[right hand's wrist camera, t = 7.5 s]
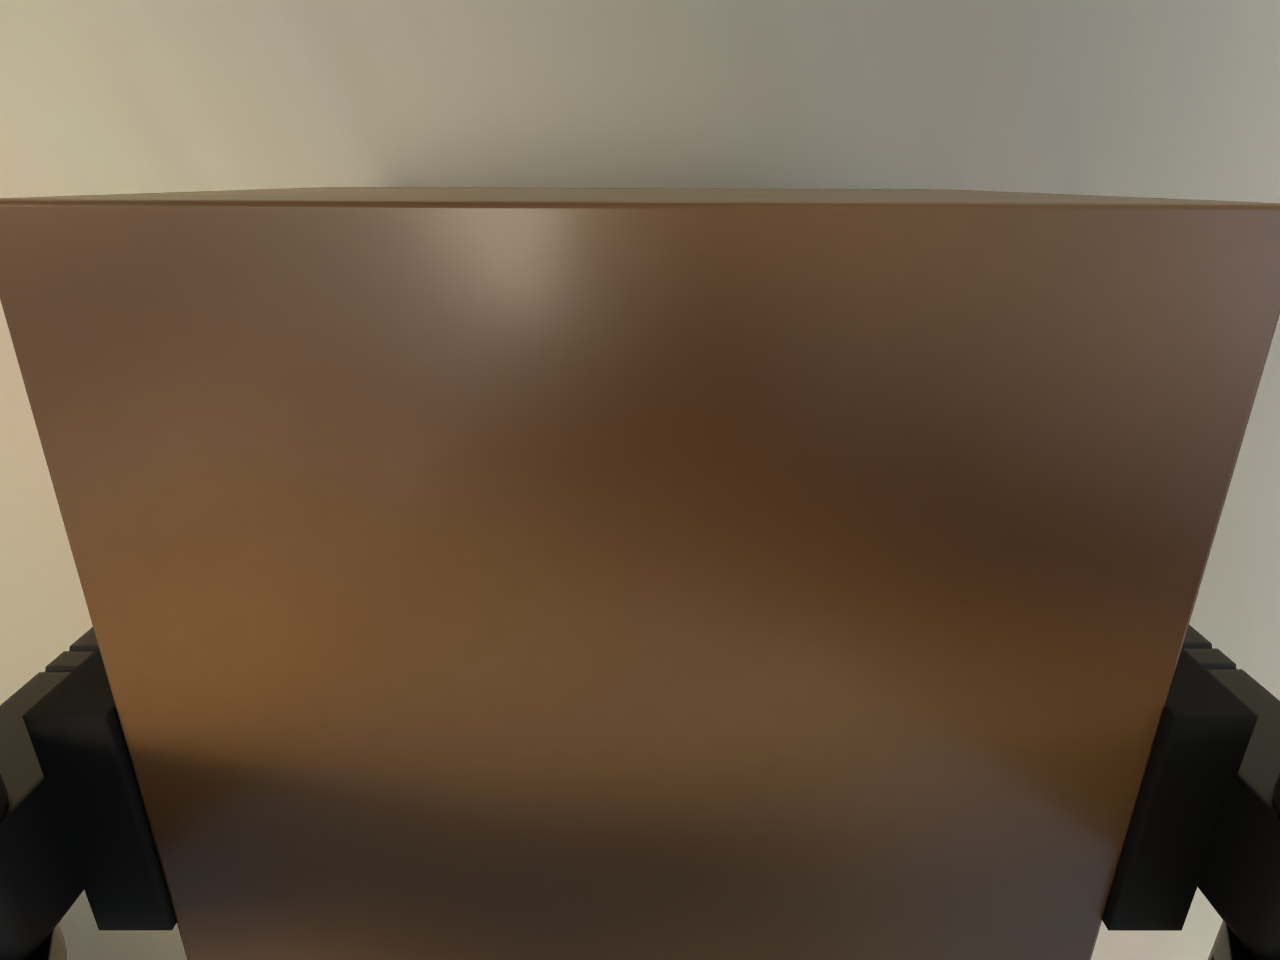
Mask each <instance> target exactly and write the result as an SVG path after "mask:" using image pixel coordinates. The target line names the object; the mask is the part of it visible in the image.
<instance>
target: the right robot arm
mask: <svg viewBox="0 0 1280 960" xmlns="http://www.w3.org/2000/svg"><path fill="white" fill-rule="evenodd" d="M1197 886H1198V888H1199V889H1200V890H1201V892H1202V893H1203V894H1204V895H1205V897H1206V898H1207V899H1208V901H1209V902H1210V903H1211V905H1212V906H1213V907H1214V908H1215V910H1216V911H1217V912H1218V914H1219V915H1220V916H1221V918H1222V919H1223V922H1222V924H1221V927H1220V930H1219V932H1218V935H1217V937H1216V940H1215V943H1214V945H1213V948H1212V950H1211V953H1210V956H1209V958H1208V960H1280V701H1279V700H1278V699H1277V698H1275V697H1274V696H1273V695H1272V694H1271V693H1269V692H1268V691H1267V690H1266V689H1265V688H1264V687H1262V686H1261V685H1260V684H1259V683H1258V682H1256V681H1255V680H1254V679H1253V678H1252V677H1250V676H1249V675H1248V674H1247V673H1246V672H1245V671H1243V670H1237V669H1236V664H1235V663H1234V662H1233V661H1231V660H1230V659H1229V658H1228V657H1227V656H1226V655H1224V654H1223V653H1222V652H1221V651H1220V650H1218V649H1212V644H1211V643H1210V642H1209V641H1208V640H1207V639H1205V638H1204V637H1203V636H1202V635H1201V634H1199V633H1198V632H1197V631H1196V630H1195V629H1193V628H1192V627H1191V626H1190V625H1188V628H1187V632H1186V635H1185V639H1184V642H1183V645H1182V649H1181V652H1180V656H1179V659H1178V662H1177V666H1176V669H1175V673H1174V676H1173V680H1172V683H1171V686H1170V690H1169V693H1168V697H1167V700H1166V703H1165V707H1164V710H1163V714H1162V717H1161V721H1160V724H1159V727H1158V731H1157V734H1156V738H1155V741H1154V744H1153V748H1152V751H1151V755H1150V758H1149V762H1148V765H1147V768H1146V772H1145V775H1144V779H1143V782H1142V785H1141V789H1140V792H1139V796H1138V799H1137V802H1136V806H1135V809H1134V813H1133V816H1132V820H1131V823H1130V826H1129V830H1128V833H1127V837H1126V840H1125V843H1124V847H1123V850H1122V854H1121V857H1120V861H1119V864H1118V867H1117V871H1116V874H1115V878H1114V881H1113V884H1112V888H1111V891H1110V895H1109V898H1108V902H1107V905H1106V908H1105V912H1104V915H1103V919H1102V921H1103V922H1104V924H1105V925H1106V927H1107V929H1108V930H1182V927H1183V925H1184V922H1185V919H1186V916H1187V914H1188V911H1189V908H1190V905H1191V902H1192V900H1193V897H1194V894H1195V891H1196V889H1197ZM83 890H85V892H86V895H87V898H88V901H89V903H90V906H91V909H92V912H93V915H94V917H95V920H96V923H97V926H98V929H99V930H172V929H173V928H174V926H175V925H176V923H177V920H176V917H175V913H174V910H173V906H172V903H171V899H170V896H169V892H168V889H167V885H166V882H165V878H164V875H163V871H162V867H161V864H160V860H159V857H158V853H157V850H156V846H155V843H154V839H153V836H152V832H151V829H150V825H149V822H148V818H147V815H146V811H145V807H144V804H143V800H142V797H141V793H140V790H139V786H138V783H137V779H136V776H135V772H134V769H133V765H132V762H131V758H130V755H129V751H128V747H127V744H126V740H125V737H124V733H123V730H122V726H121V723H120V719H119V716H118V712H117V709H116V705H115V702H114V698H113V695H112V691H111V687H110V684H109V680H108V677H107V673H106V670H105V666H104V663H103V659H102V656H101V652H100V649H99V645H98V642H97V638H96V635H95V631H94V628H93V627H92V628H91V629H90V630H89V631H88V632H86V633H85V634H84V635H83V636H82V637H81V638H79V639H78V640H77V641H76V642H75V643H73V644H72V645H71V646H70V650H69V652H63V653H62V654H61V655H59V656H58V657H57V658H56V659H55V660H53V661H52V662H51V663H50V664H49V665H48V666H46V671H45V672H39V673H38V674H37V675H36V676H35V677H33V678H32V679H31V680H30V681H29V682H28V683H26V684H25V685H24V686H23V687H22V688H20V689H19V690H18V691H17V692H16V693H15V694H13V695H12V696H11V697H10V698H9V699H8V700H6V701H5V702H4V703H3V704H2V705H0V960H66V959H67V953H66V947H65V942H64V937H63V935H62V932H61V930H60V927H59V924H58V923H59V921H60V920H61V919H62V917H63V916H64V915H65V914H66V912H67V911H68V910H69V908H70V907H71V906H72V904H73V903H74V902H75V900H76V899H77V898H78V897H79V895H80V894H81V893H82V891H83Z"/></svg>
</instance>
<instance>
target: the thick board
mask: <svg viewBox="0 0 1280 960" xmlns="http://www.w3.org/2000/svg"><path fill="white" fill-rule="evenodd" d="M0 299H1V303H2V306H3V310H4V313H5V317H6V320H7V324H8V328H9V331H10V335H11V338H12V342H13V345H14V349H15V352H16V356H17V359H18V363H19V366H20V370H21V373H22V377H23V380H24V384H25V388H26V391H27V395H28V398H29V402H30V405H31V409H32V412H33V416H34V419H35V423H36V426H37V430H38V433H39V437H40V440H41V444H42V448H43V451H44V455H45V458H46V462H47V465H48V469H49V472H50V476H51V479H52V483H53V486H54V490H55V493H56V497H57V500H58V504H59V508H60V511H61V515H62V518H63V522H64V525H65V529H66V532H67V536H68V539H69V543H70V546H71V550H72V553H73V557H74V560H75V564H76V568H77V571H78V575H79V578H80V582H81V585H82V589H83V592H84V596H85V599H86V603H87V606H88V610H89V613H90V617H91V620H92V624H93V628H94V631H95V635H96V638H97V642H98V645H99V649H100V652H101V656H102V659H103V663H104V666H105V670H106V673H107V677H108V680H109V684H110V687H111V691H112V695H113V698H114V702H115V705H116V709H117V712H118V716H119V719H120V723H121V726H122V730H123V733H124V737H125V740H126V744H127V747H128V751H129V755H130V758H131V762H132V765H133V769H134V772H135V776H136V779H137V783H138V786H139V790H140V793H141V797H142V800H143V804H144V807H145V811H146V815H147V818H148V822H149V825H150V829H151V832H152V836H153V839H154V843H155V846H156V850H157V853H158V857H159V860H160V864H161V867H162V871H163V875H164V878H165V882H166V885H167V889H168V892H169V896H170V899H171V903H172V906H173V910H174V913H175V917H176V920H177V924H178V927H179V931H180V935H181V938H182V942H183V945H184V949H185V952H186V956H187V959H188V960H1091V956H1092V953H1093V949H1094V946H1095V942H1096V939H1097V936H1098V932H1099V929H1100V925H1101V922H1102V919H1103V915H1104V912H1105V908H1106V905H1107V902H1108V898H1109V895H1110V891H1111V888H1112V884H1113V881H1114V878H1115V874H1116V871H1117V867H1118V864H1119V861H1120V857H1121V854H1122V850H1123V847H1124V843H1125V840H1126V837H1127V833H1128V830H1129V826H1130V823H1131V820H1132V816H1133V813H1134V809H1135V806H1136V802H1137V799H1138V796H1139V792H1140V789H1141V785H1142V782H1143V779H1144V775H1145V772H1146V768H1147V765H1148V762H1149V758H1150V755H1151V751H1152V748H1153V744H1154V741H1155V738H1156V734H1157V731H1158V727H1159V724H1160V721H1161V717H1162V714H1163V710H1164V707H1165V703H1166V700H1167V697H1168V693H1169V690H1170V686H1171V683H1172V680H1173V676H1174V673H1175V669H1176V666H1177V662H1178V659H1179V656H1180V652H1181V649H1182V645H1183V642H1184V639H1185V635H1186V632H1187V628H1188V625H1189V622H1190V618H1191V615H1192V611H1193V608H1194V604H1195V601H1196V598H1197V594H1198V591H1199V587H1200V584H1201V581H1202V577H1203V574H1204V570H1205V567H1206V563H1207V560H1208V557H1209V553H1210V550H1211V546H1212V543H1213V540H1214V536H1215V533H1216V529H1217V526H1218V522H1219V519H1220V516H1221V512H1222V509H1223V505H1224V502H1225V499H1226V495H1227V492H1228V488H1229V485H1230V482H1231V478H1232V475H1233V471H1234V468H1235V464H1236V461H1237V458H1238V454H1239V451H1240V447H1241V444H1242V441H1243V437H1244V434H1245V430H1246V427H1247V423H1248V420H1249V417H1250V413H1251V410H1252V406H1253V403H1254V400H1255V396H1256V393H1257V389H1258V386H1259V382H1260V379H1261V376H1262V372H1263V369H1264V365H1265V362H1266V359H1267V355H1268V352H1269V348H1270V345H1271V342H1272V338H1273V335H1274V331H1275V328H1276V324H1277V321H1278V318H1279V314H1280V203H1259V202H1235V201H1211V200H1187V199H1162V198H1138V197H1114V196H1090V195H1066V194H1042V193H1017V192H993V191H969V190H909V189H660V188H411V187H321V188H292V189H263V190H233V191H204V192H175V193H145V194H116V195H87V196H58V197H28V198H0Z"/></svg>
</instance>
